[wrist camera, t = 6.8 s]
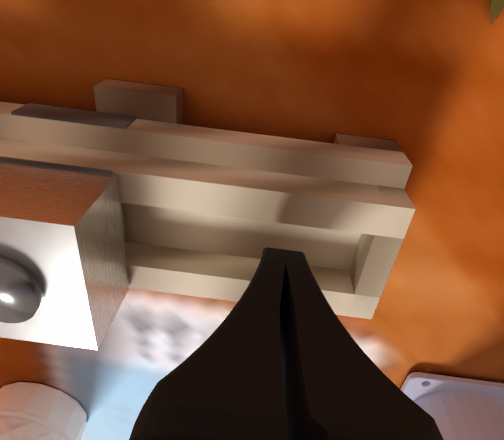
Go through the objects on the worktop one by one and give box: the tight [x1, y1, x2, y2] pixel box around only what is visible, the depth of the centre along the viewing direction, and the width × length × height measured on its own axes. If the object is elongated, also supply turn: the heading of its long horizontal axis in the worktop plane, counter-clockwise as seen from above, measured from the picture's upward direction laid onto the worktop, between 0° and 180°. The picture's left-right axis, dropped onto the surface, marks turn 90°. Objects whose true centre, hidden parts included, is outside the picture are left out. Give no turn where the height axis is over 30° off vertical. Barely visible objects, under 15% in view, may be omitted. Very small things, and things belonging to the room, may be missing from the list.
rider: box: [0, 160, 129, 350], centre depth 13 cm, size 5×5×5 cm
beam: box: [0, 79, 416, 319], centre depth 15 cm, size 20×9×4 cm, turn 84°
